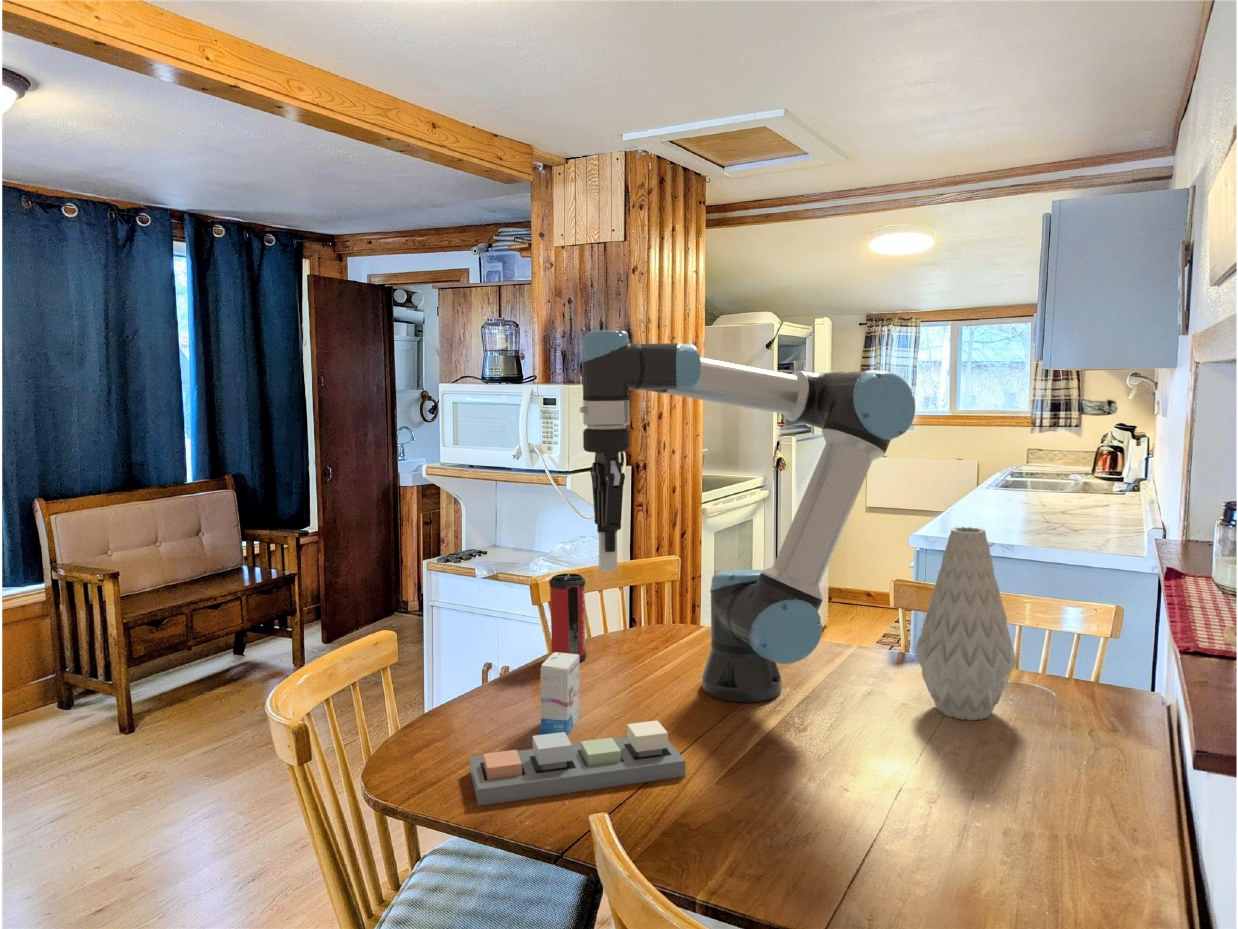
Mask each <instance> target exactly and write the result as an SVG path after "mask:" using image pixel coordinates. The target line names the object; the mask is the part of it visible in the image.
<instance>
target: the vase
mask: <svg viewBox="0 0 1238 929" xmlns="http://www.w3.org/2000/svg"><path fill="white" fill-rule="evenodd" d="M990 551H991V549H990V544H989V542H988V538H987V534H986V530H985V529H983V528H979V527H971V526H969V527H964V526H962V527H959V526H958V527H952V528H951V529H950V533H949V536H948V540H947V544H946V546H945V550H944V552H943V554H942V561H941V565H940V568H939V571H938V575H937V579H936V580H935V581H936V582H935V583H934V584H935V585H934V587H933V590H932V594H931V596H930V597H931V598H930V600H929V604H928V607H927V611H926V615H925V618H924V622H923V625H922V628H921V631H920V636H918V638H917V643H916V646H915V647H916V648H915V654H914V655H915V658H916V660H917V662H918V663H919V666H920V667H921V674H922V679H923V681H924V683H925V685H926V688H927V690H928V693H929V695H930V697H931V698H932V700H933V701H934V705H935V708H936V709H937V711H938V712H940V713H941V714H943V715H944V716H947V717H949V718H954V719H957V720H962V721H963V720H964V721H965V720H967V721H977V720H979V721H981V720H986V719H987V718H989V717H990V716H991V715H992V714H993V711H994V709H995V706H997V705H998V704H999V702H1000V700H1001V698H1002V695H1003V693H1004V691H1005V690H1006V687H1007V685H1008V683H1009V676H1010V674H1011V673H1012V671H1013V670H1014V668H1015V666H1016V665H1017V663H1018V662H1017V658H1016V654H1015V650H1014V646H1013V641H1012V639H1011V635H1010V632H1009V628H1008V618H1007V615H1006V612H1005V608H1004V605H1003V602H1002V597H1001V592H1000V587H999V585H998V582H997V579H996V576H995V568H994V564H993V558H992V555H991V552H990Z"/></svg>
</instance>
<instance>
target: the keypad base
mask: <svg viewBox="0 0 1238 929" xmlns="http://www.w3.org/2000/svg"><path fill="white" fill-rule="evenodd" d="M613 740H614V741H615V743H616V744H617V746H618V747H619V749H620V750H621V762H617V763H610V764H603V765H595V766H588V767H587V766H586V765H585V763H584V761H583V759H582V757H581V742H578V743H571V744H572V761H567V769H560V770H553V771H545V772H539V773H538V772H536V771H544V770H543V769H542V767H541V765H539V764H538V762H537V760H536V757H535V755H534V753H533V748H529V749H523V750H521V749H520V750H517V752H518V755H519V758H520V760H521V763H522V776H514V777H507V778H499V779H492V780H487V779H486V780H485V778H486V775H485V772H484V759H483V754H482V755H475V756H474V755H473V756H469V767H470V768H469V772H470V777H471V781H472V785H473V789H474V792H475V797H476V802H477V806H478V807H479V806H487V805H494V804H500V803H508V802H514V801H521V800H522V801H523V800H529V799H530V800H531V799H535V798H543V797H550V796H556V795H557V796H558V795H564V794H571V793H576V792H577V793H578V792H584V791H591V790H599V789H605V788H612V787H619V786H620V787H621V786H626V785H634V784H640V783H641V784H642V783H647V782H654V781H661V780H668V779H676V778H683V777H686V760H685V758H684V757H683V756H682V755H681V754H680V752H679V751H678V750H677V749H676V748H675V747H674V745H673V744H672V742H671V741H670V740H669V739H668V748H663V749H662V754H659V755H660V756H657V757H654V756H653V757H649V758H640V757H639V755H638V754H637V753H636V751H635V750H634V748H633V746H632V745H631V743H630V742H629V741H628V739H627V736H625V737H616V738H613ZM634 758H640V759H634Z"/></svg>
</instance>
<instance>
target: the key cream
mask: <svg viewBox="0 0 1238 929" xmlns="http://www.w3.org/2000/svg"><path fill="white" fill-rule="evenodd" d="M626 727H627V728H626V733H627V736H626V737H627V739H628V741H629V742H630V743H631V745H632V746H633V748H634V750H635V751H636V753H637V754H638V755H639V757H638V758H644V757H651V756H658V755H660V754H662V749H663V748H668V740H669V733H668V731H667V730H666V729H665V727H664V726H663V725H662V723H660V722H659V720H652V721H651V720H650V721H643V722H642V721H641V722H635V723H627V725H626Z"/></svg>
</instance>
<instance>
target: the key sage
mask: <svg viewBox="0 0 1238 929" xmlns="http://www.w3.org/2000/svg"><path fill="white" fill-rule="evenodd" d="M613 739H614V738H613V737H606V738H605V737H604V738H600V739H591V740H584V741H583V740H582V741H580V743H581V757H582V759H583V761H584V763H585V766H586V767H588V766H595V765H603V764H610V763H617V762H621V750H620V749H619V747H618V746H617V744H616V743H615V741H614V740H613Z"/></svg>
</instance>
